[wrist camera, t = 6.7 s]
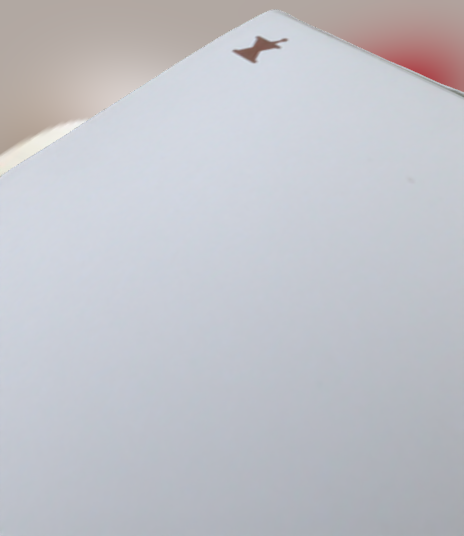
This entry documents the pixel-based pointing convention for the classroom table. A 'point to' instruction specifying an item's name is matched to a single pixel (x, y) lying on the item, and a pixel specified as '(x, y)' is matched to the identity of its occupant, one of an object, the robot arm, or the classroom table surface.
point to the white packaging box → (240, 302)
